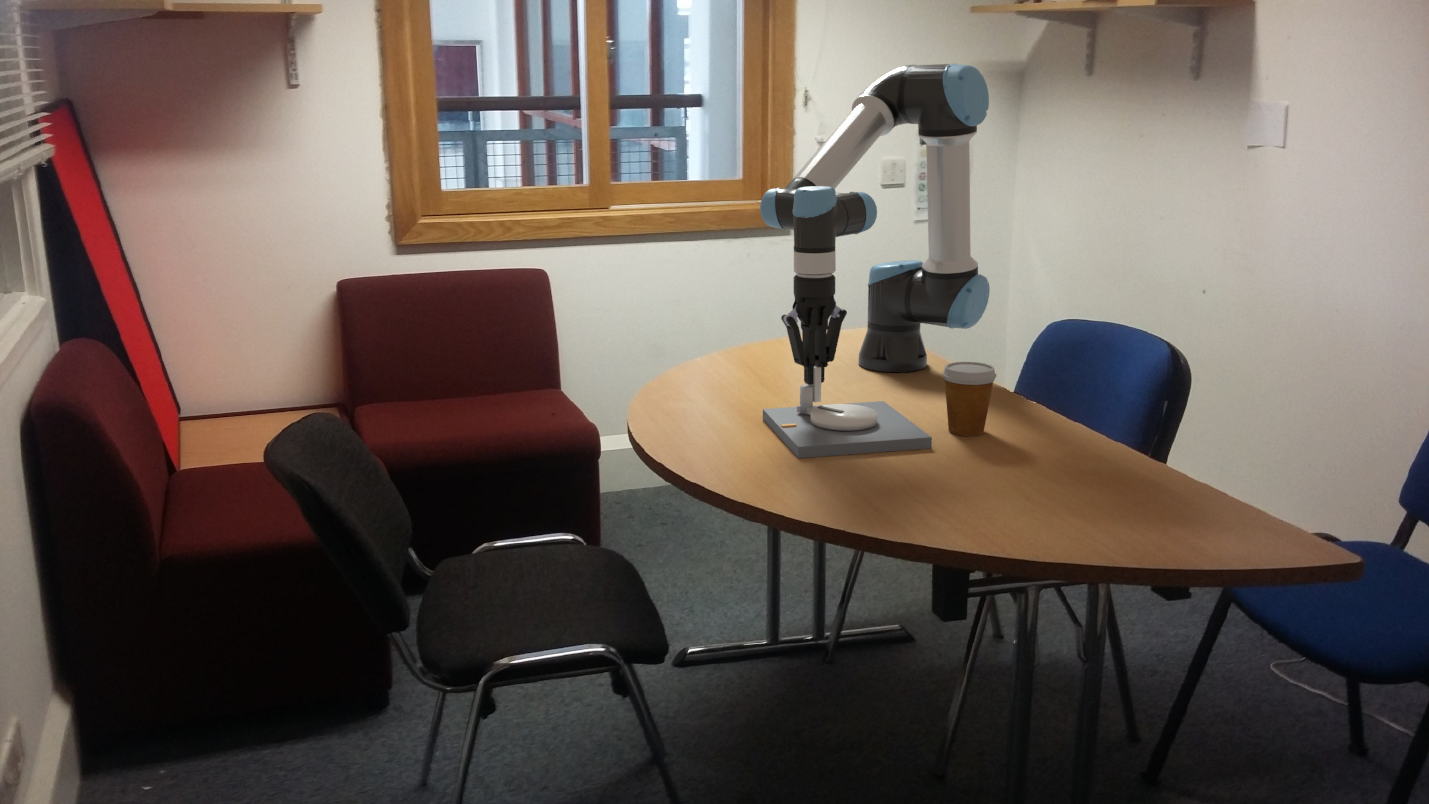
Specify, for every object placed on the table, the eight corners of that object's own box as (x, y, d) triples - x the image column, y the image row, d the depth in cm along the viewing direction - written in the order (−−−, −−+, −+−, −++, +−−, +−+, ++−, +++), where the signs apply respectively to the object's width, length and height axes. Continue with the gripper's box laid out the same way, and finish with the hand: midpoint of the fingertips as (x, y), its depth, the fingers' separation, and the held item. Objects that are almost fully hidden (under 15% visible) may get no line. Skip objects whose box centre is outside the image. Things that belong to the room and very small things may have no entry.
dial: (890, 419, 210) (891, 393, 209) (851, 434, 202) (852, 407, 200) (819, 404, 221) (819, 378, 219) (779, 417, 212) (779, 391, 211)
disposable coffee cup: (993, 440, 206) (997, 374, 203) (938, 437, 208) (942, 372, 204) (992, 425, 215) (996, 362, 212) (939, 422, 217) (942, 359, 213)
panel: (883, 411, 224) (883, 399, 224) (931, 448, 202) (931, 435, 201) (762, 419, 219) (762, 407, 219) (798, 458, 197) (798, 445, 196)
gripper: (832, 268, 215) (832, 390, 222) (773, 274, 210) (774, 400, 216) (855, 273, 209) (854, 400, 215) (794, 280, 203) (795, 410, 210)
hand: (814, 400), depth 216 cm, fingers closed
